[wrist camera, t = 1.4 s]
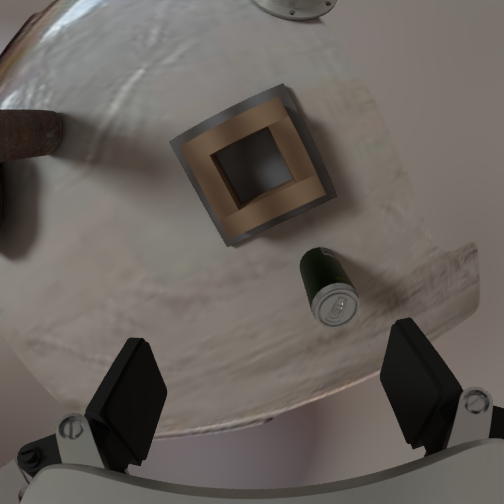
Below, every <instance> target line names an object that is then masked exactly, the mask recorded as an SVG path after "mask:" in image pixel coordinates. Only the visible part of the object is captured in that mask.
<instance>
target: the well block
mask: <svg viewBox="0 0 504 504" xmlns="http://www.w3.org/2000/svg"><path fill="white" fill-rule="evenodd" d="M169 142H170V144H171V146H172V148H173V150H174V152H175V154H176V155H177V157H178V159H179V161H180V163H181V165H182V167H183V168H184V170H185V172H186V174H187V176H188V178H189V179H190V181H191V183H192V185H193V187H194V189H195V190H196V192H197V194H198V196H199V198H200V199H201V201H202V203H203V205H204V207H205V209H206V210H207V212H208V214H209V216H210V218H211V219H212V221H213V223H214V225H215V226H216V228H217V230H218V232H219V234H220V235H221V237H222V239H223V241H224V242H225V244H226V246H227V247H229V246H231V245H233V244H235V243H237V242H240V241H242V240H244V239H246V238H248V237H250V236H252V235H254V234H257V233H259V232H261V231H263V230H265V229H267V228H269V227H272V226H274V225H276V224H278V223H280V222H282V221H285V220H287V219H289V218H291V217H293V216H295V215H298V214H300V213H302V212H304V211H306V210H308V209H311V208H313V207H315V206H317V205H319V204H322V203H324V202H326V201H328V200H330V199H333V198H335V197H337V194H336V191H335V189H334V186H333V184H332V182H331V179H330V177H329V175H328V172H327V170H326V168H325V166H324V163H323V161H322V159H321V157H320V155H319V152H318V150H317V148H316V146H315V144H314V142H313V140H312V138H311V136H310V134H309V131H308V129H307V127H306V125H305V123H304V121H303V119H302V118H301V116H300V114H299V112H298V110H297V108H296V106H295V104H294V102H293V100H292V99H291V97H290V95H289V93H288V91H287V89H286V88H285V86H284V84H280V85H278V86H276V87H273V88H271V89H268V90H266V91H264V92H262V93H259V94H257V95H255V96H253V97H251V98H248V99H246V100H244V101H242V102H240V103H238V104H236V105H234V106H232V107H230V108H228V109H226V110H224V111H222V112H220V113H218V114H216V115H214V116H212V117H211V118H209V119H207V120H205V121H203V122H201V123H200V124H198V125H196V126H194V127H193V128H191V129H189V130H187V131H186V132H184V133H182V134H181V135H179V136H177V137H176V138H174V139H172V140H171V141H169Z"/></svg>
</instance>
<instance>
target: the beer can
mask: <svg viewBox="0 0 504 504" xmlns="http://www.w3.org/2000/svg"><path fill="white" fill-rule="evenodd" d="M299 267H300V272H301V276H302V279H303V283H304V286H305V289H306V293H307V296H308V300H309V304H310V307H311V311H312V314H313V316H314V317H315V319H316V320H317V321H318V323H319V324H321V325H322V326H323V327H326V328H332V329H336V328H340V327H344V326H346V325H347V324H349V323H350V322H351V321H353V320H354V319H355V317H356V316H357V314H358V312H359V308H360V302H359V296H358V293H357V291H356V289H355V288H354V286H353V284H352V283H351V281H350V279H349V278H348V276H347V274H346V273H345V271H344V270H343V268H342V266H341V265H340V263H339V261H338V260H337V258H336V257H335V255H334V254H333V253H332V252H331V251H330V250H328V249H326V248H320V247H318V248H313V249H311V250H309V251H307V252H306V253H305V254H304V256H303V257H302V259H301V261H300V266H299Z"/></svg>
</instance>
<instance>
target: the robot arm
mask: <svg viewBox="0 0 504 504" xmlns="http://www.w3.org/2000/svg"><path fill="white" fill-rule="evenodd" d="M252 2H253V3H254V4H255V5H256V6H257V7H259V8H260V9H262V10H263V11H265V12H267V13H269V14H271V15H274V16H277V17H280V18H285V19H290V20H309V19H314V18H318V17H320V16H323V15H325V14H326V13H328V12H329V11H330V10H331V9H332V8H333V7H334V5H335V4H336V2H337V0H252ZM291 14H293V15H291ZM380 381H381V383H382V385H383V388H384V390H385V392H386V395H387V397H388V399H389V401H390V404H391V406H392V408H393V411H394V413H395V415H396V418H397V420H398V423H399V425H400V428H401V430H402V433H403V435H404V438H405V440H406V442H407V443H408V444H411V446H412V449H416V448H418V447H421V446H424V447H425V450H426V453H425V455H424V457H423V458H421V459H418V460H415V461H412V462H409V463H406V464H403V465H400V466H397V467H393V468H390V469H387V470H383V471H380V472H376V473H372V474H368V475H365V476H360V477H356V478H351V479H347V480H341V481H336V482H330V483H323V484H318V485H309V486H300V487H289V488H275V489H223V488H207V487H197V486H188V485H180V484H173V483H167V482H162V481H156V480H151V479H146V478H141V477H136V476H132V475H130V474H129V472H128V470H127V468H128V465H129V464H133V465H137V466H141V463H142V460H146V458H147V455H148V452H149V449H150V446H151V443H152V440H153V436H154V433H155V430H156V427H157V424H158V421H159V418H160V415H161V412H162V409H163V406H164V403H165V400H166V397H167V388H166V386H165V383H164V381H163V378H162V376H161V373H160V371H159V368H158V366H157V363H156V361H155V358H154V355H153V353H152V350H151V347H150V345H149V343H148V342H145V340H144V339H143V338H129V339H128V340H127V341H126V343H125V345H124V346H123V348H122V349H121V351H120V353H119V354H118V356H117V357H116V359H115V361H114V362H113V364H112V366H111V367H110V369H109V371H108V372H107V374H106V376H105V377H104V379H103V381H102V382H101V384H100V386H99V388H98V389H97V391H96V393H95V394H94V396H93V398H92V400H91V402H90V403H89V405H88V407H87V409H86V410H85V411H86V413H85V415H84V416H83V415H81V414H79V413H70V414H67V415H65V416H63V417H62V418H61V419H60V420H59V421H58V423H57V425H56V428H55V430H56V433H55V434H53V435H50V436H48V437H45V438H43V439H40V440H37V441H34V442H31V443H29V444H26V445H24V446H23V447H22V448H21V449H20V451H19V452H18V456H17V461H16V460H14V459H13V460H12V461H11V462H9V463H8V464H6V465H5V466H4V467H2V468H1V469H0V504H504V408H501V407H497V406H493V400H492V397H491V395H490V394H489V393H488V392H487V391H486V390H484V389H482V388H480V387H470V388H468V389H466V390H464V391H463V389H462V388H461V385H460V384H459V382H458V381H457V379H456V378H455V376H454V375H453V373H452V372H451V370H450V369H449V368H448V366H447V365H446V363H445V362H444V361H443V359H442V358H441V356H440V355H439V354H438V352H437V351H436V350H435V348H434V347H433V346H432V344H431V343H430V342H429V340H428V339H427V338H426V336H425V335H424V334H423V332H422V331H421V330H420V329H419V327H418V326H417V325H416V323H415V322H414V321H413V320H412V319H411V318H405V319H400V320H397V321H396V322H395V324H393V325H392V327H391V331H390V336H389V340H388V345H387V349H386V353H385V357H384V361H383V365H382V369H381V372H380Z"/></svg>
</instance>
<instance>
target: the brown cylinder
mask: <svg viewBox="0 0 504 504" xmlns="http://www.w3.org/2000/svg"><path fill="white" fill-rule="evenodd" d="M61 137H62V123H61V118H60V116H59V115H58V114H57V113H56V112H54V111H48V110H0V162H5V161H11V160H17V159H23V158H31V157H38V156H45V155H49V154H50V153H51V152H53V151H54V150H55V149H56V147H57V146H58V145H59V143H60V141H61Z"/></svg>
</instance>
